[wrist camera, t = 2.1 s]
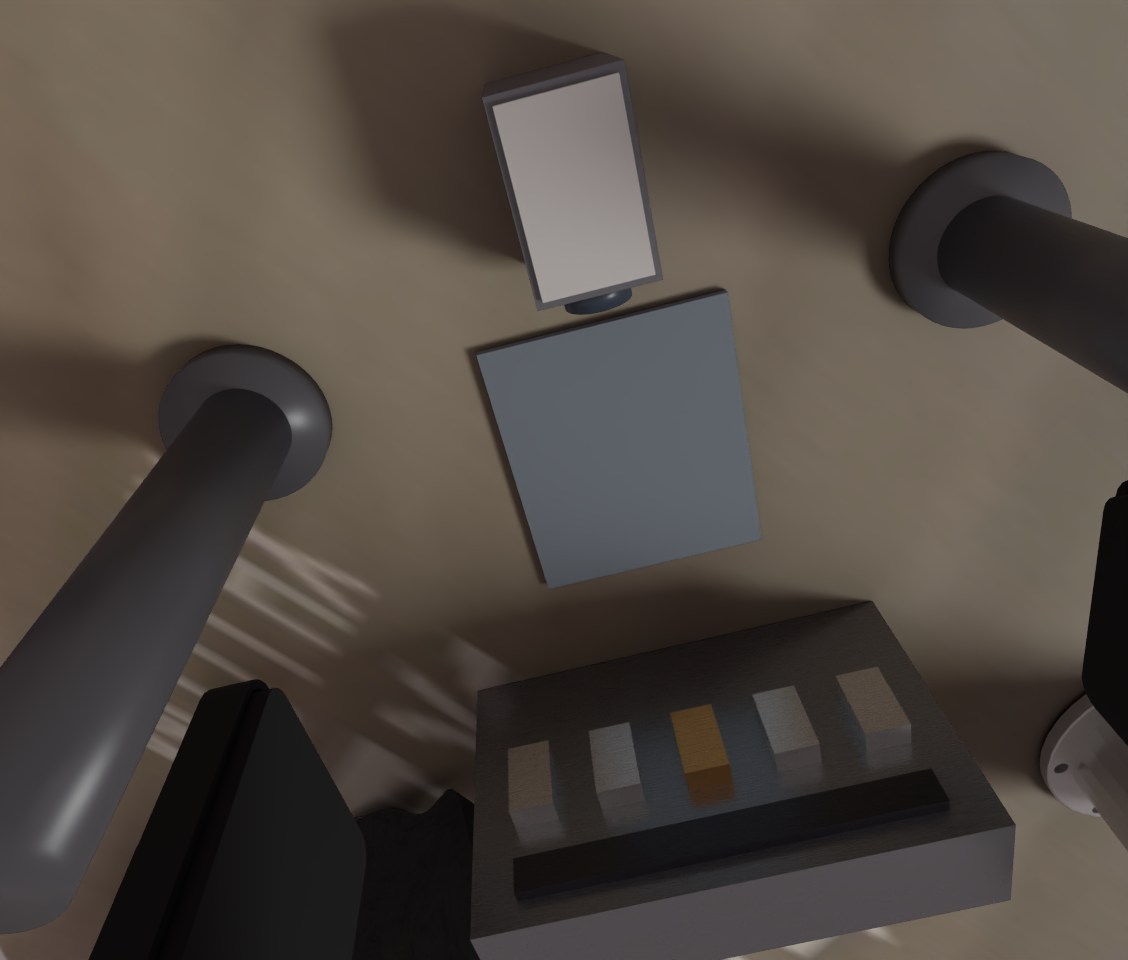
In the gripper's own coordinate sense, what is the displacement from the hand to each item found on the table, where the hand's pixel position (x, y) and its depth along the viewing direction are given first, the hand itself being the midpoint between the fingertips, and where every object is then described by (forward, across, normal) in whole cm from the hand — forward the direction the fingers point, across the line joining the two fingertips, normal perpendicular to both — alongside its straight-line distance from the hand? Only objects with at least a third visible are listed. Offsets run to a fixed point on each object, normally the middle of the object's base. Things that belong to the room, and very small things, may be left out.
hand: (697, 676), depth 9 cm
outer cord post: (+27, +15, +6) cm, 31 cm away
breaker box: (+27, -1, +27) cm, 38 cm away
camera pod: (+27, -1, -1) cm, 27 cm away
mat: (+27, -1, +12) cm, 29 cm away
